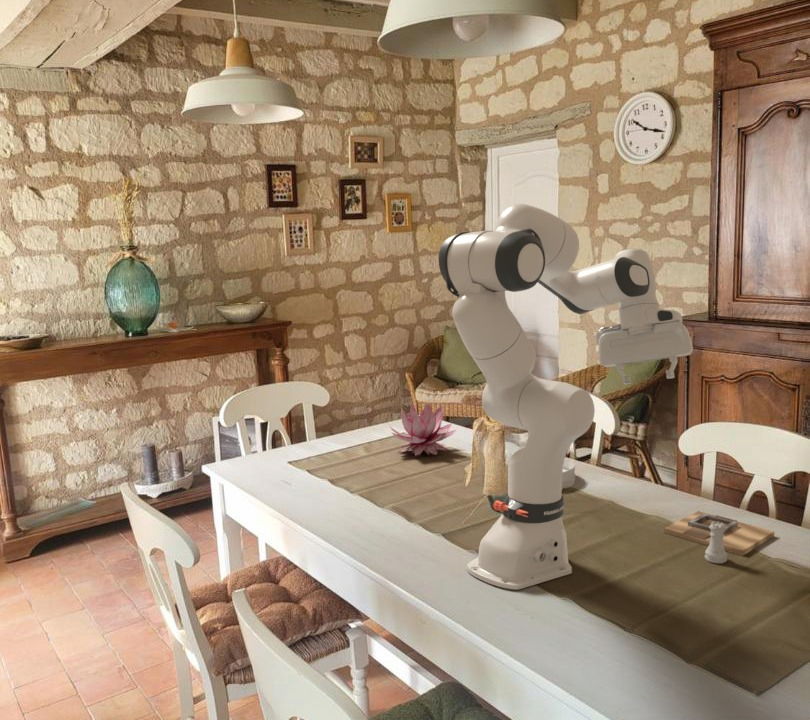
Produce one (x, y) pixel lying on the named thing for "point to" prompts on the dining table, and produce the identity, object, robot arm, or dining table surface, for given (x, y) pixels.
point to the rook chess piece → (716, 544)
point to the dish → (568, 473)
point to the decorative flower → (424, 430)
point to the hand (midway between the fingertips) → (648, 381)
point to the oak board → (736, 535)
